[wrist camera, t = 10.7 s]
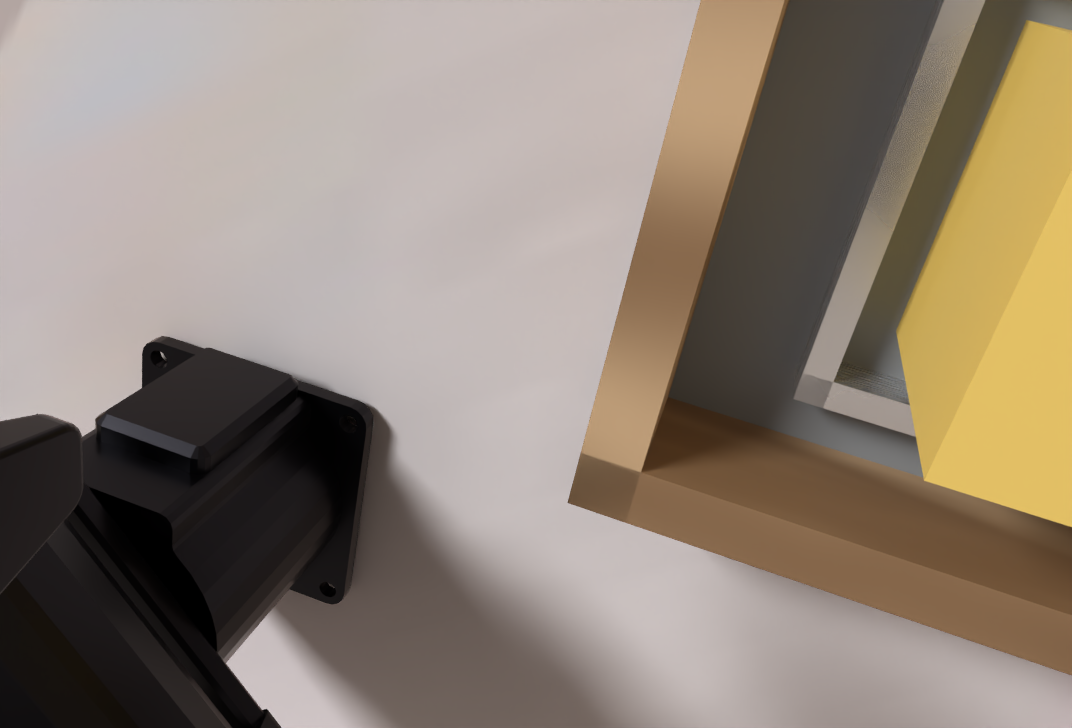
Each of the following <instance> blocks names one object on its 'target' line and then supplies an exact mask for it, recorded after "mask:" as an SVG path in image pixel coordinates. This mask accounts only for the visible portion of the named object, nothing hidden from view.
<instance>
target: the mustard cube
mask: <svg viewBox="0 0 1072 728" xmlns="http://www.w3.org/2000/svg"><path fill="white" fill-rule="evenodd" d="M896 334H897V339H898V344H899V350H900V355H901V360H902V366H903V371H904V376H905V382H906V387H907V392H908V398H909V403H910V408H911V413H912V419H913V424H914V429H915V435H916V440H917V445H918V451H919V456H920V461H921V467H922V472H923V477H924V481H927V482H930V483H933V484H937V485H940V486H943V487H946V488H949V489H952V490H956V491H959V492H962V493H965V494H968V495H971V496H975V497H978V498H981V499H984V500H987V501H990V502H994V503H997V504H1000V505H1003V506H1006V507H1009V508H1013V509H1016V510H1019V511H1022V512H1025V513H1028V514H1032V515H1035V516H1038V517H1041V518H1044V519H1048V520H1051V521H1054V522H1057V523H1060V524H1063V525H1067V526H1070V527H1072V30H1068V29H1064V28H1060V27H1055V26H1051V25H1047V24H1042V23H1038V22H1033V21H1029V20H1026V23H1025V25H1024V27H1023V30H1022V32H1021V35H1020V37H1019V39H1018V42H1017V44H1016V46H1015V49H1014V51H1013V54H1012V56H1011V58H1010V61H1009V63H1008V66H1007V68H1006V70H1005V73H1004V75H1003V77H1002V80H1001V82H1000V85H999V87H998V89H997V92H996V94H995V96H994V99H993V101H992V104H991V106H990V108H989V111H988V113H987V115H986V118H985V120H984V123H983V125H982V127H981V130H980V132H979V135H978V137H977V139H976V142H975V144H974V146H973V149H972V151H971V154H970V156H969V158H968V161H967V163H966V165H965V168H964V170H963V173H962V175H961V177H960V180H959V182H958V184H957V187H956V189H955V192H954V194H953V196H952V199H951V201H950V204H949V206H948V208H947V211H946V213H945V215H944V218H943V220H942V223H941V225H940V227H939V230H938V232H937V234H936V237H935V239H934V242H933V244H932V246H931V249H930V251H929V253H928V256H927V258H926V261H925V263H924V265H923V268H922V270H921V273H920V275H919V277H918V280H917V282H916V284H915V287H914V289H913V292H912V294H911V296H910V299H909V301H908V303H907V306H906V308H905V311H904V313H903V315H902V318H901V320H900V323H899V325H898V327H897V330H896Z"/></svg>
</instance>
